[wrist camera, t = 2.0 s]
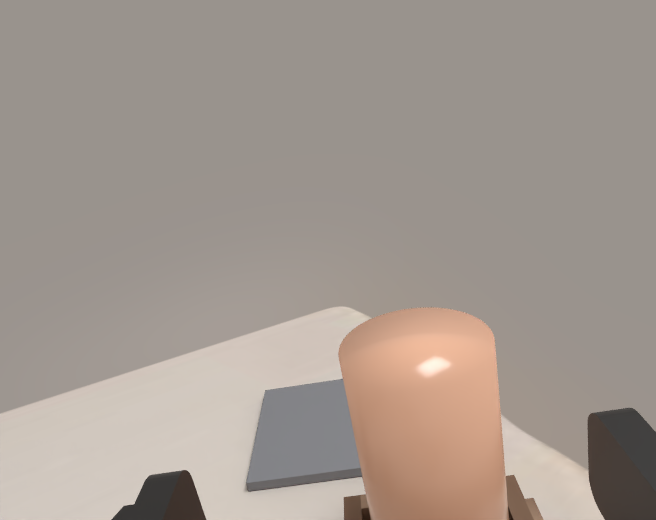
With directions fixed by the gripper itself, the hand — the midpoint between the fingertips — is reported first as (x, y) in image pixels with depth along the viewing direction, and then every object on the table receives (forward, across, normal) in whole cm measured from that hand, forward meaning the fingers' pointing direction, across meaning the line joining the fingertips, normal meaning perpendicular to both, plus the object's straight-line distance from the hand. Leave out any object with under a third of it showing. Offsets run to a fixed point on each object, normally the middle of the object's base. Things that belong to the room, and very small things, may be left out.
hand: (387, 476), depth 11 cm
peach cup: (+12, -2, +19) cm, 23 cm away
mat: (+29, +5, +21) cm, 36 cm away
